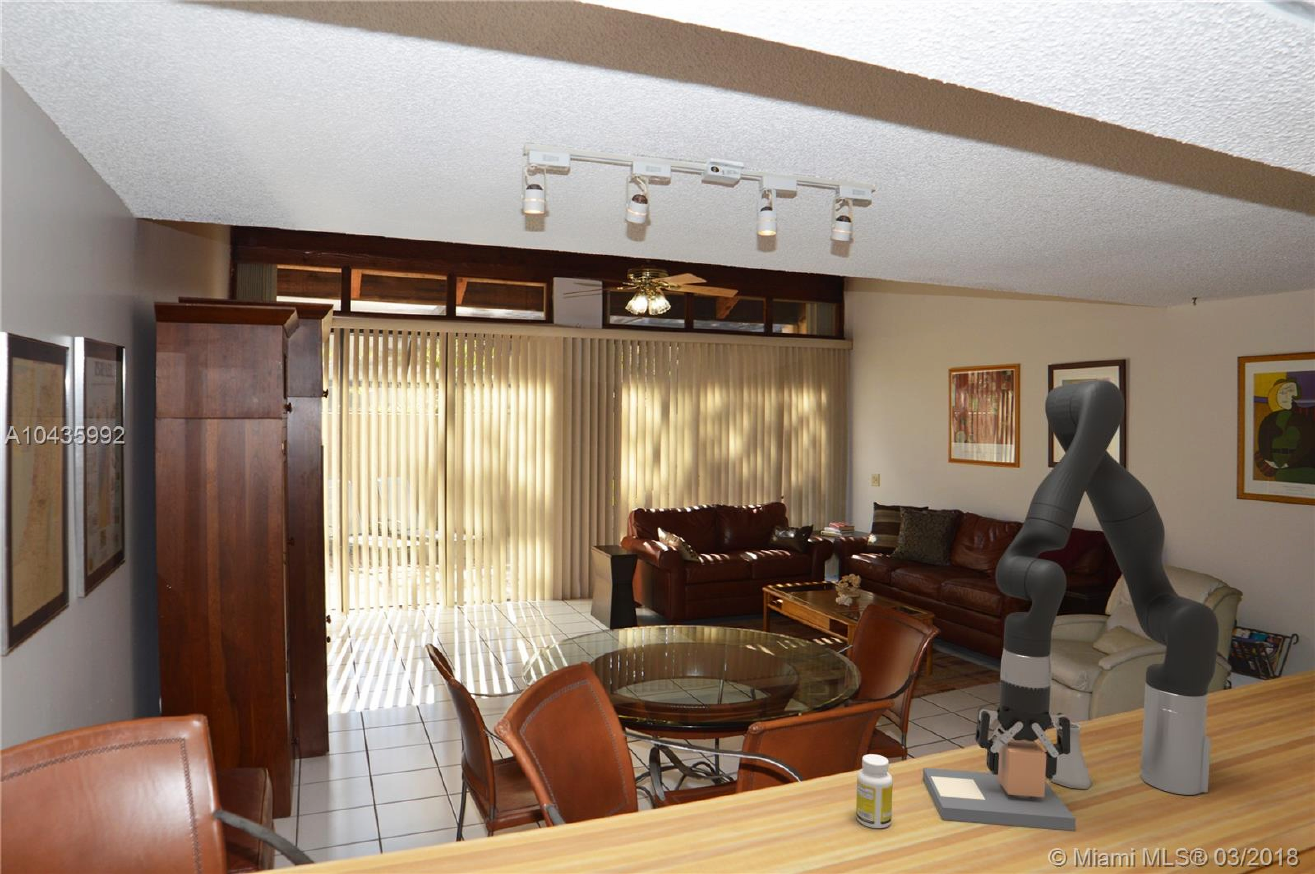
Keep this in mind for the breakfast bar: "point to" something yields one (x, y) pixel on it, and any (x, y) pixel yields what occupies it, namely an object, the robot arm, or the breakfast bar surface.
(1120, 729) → the breakfast bar surface
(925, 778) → the post board
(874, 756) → the supplement bottle
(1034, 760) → the slotted tan cube
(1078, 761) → the flask
